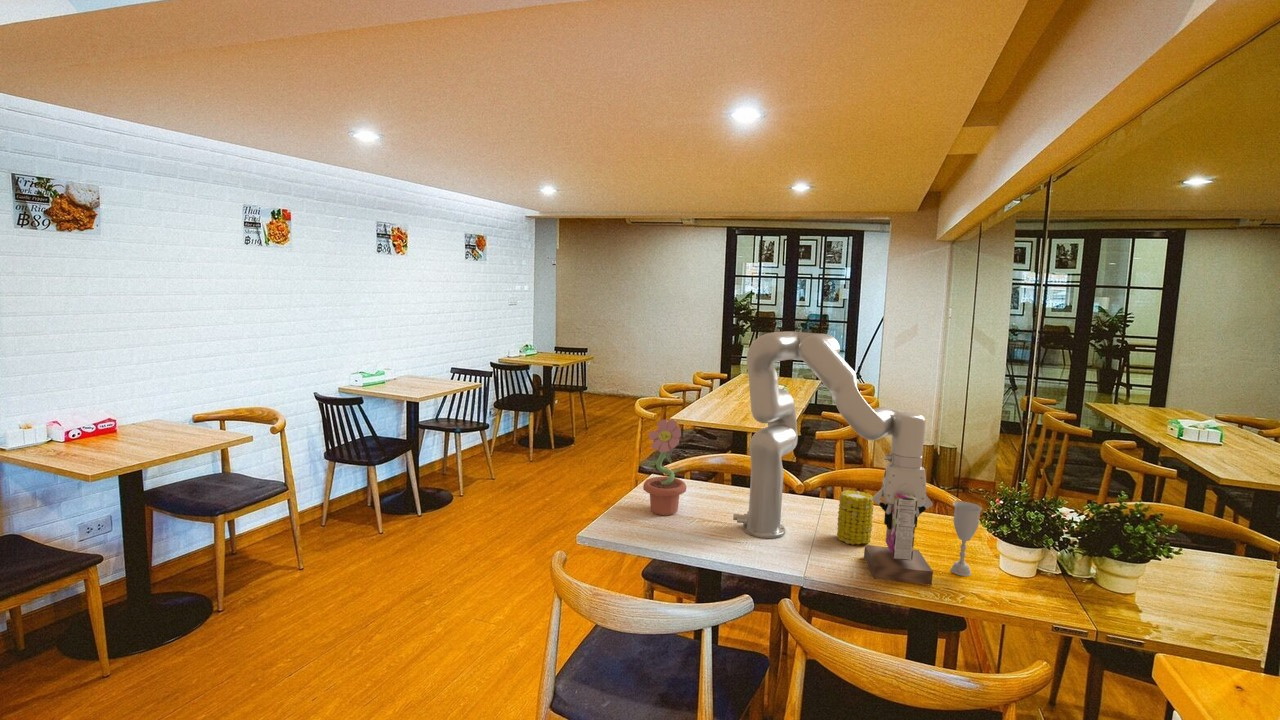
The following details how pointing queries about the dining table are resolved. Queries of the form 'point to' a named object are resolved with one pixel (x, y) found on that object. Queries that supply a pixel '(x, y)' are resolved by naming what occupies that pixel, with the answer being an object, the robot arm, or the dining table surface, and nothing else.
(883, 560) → the walnut block
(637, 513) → the dining table surface
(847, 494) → the food
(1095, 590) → the dining table surface
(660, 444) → the decorative flower
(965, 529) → the chalice
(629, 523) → the dining table surface
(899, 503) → the candy bar box
